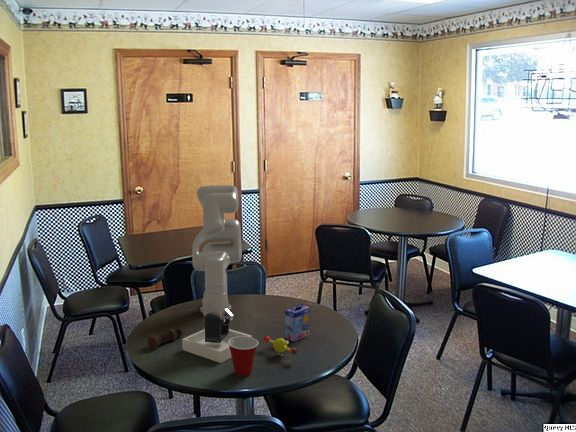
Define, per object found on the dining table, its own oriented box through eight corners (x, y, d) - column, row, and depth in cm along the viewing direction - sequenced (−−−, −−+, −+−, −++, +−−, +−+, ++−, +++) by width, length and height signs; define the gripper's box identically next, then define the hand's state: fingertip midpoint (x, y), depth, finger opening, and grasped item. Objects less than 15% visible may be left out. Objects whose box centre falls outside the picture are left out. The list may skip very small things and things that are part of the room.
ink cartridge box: (294, 342, 233) (294, 307, 230) (284, 338, 237) (283, 304, 234) (310, 335, 240) (310, 301, 237) (300, 331, 244) (300, 298, 241)
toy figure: (302, 360, 216) (302, 343, 215) (291, 365, 213) (290, 347, 211) (271, 346, 230) (270, 329, 228) (260, 350, 226) (259, 333, 225)
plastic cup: (259, 379, 202) (259, 346, 200) (228, 380, 202) (227, 348, 199) (258, 365, 213) (258, 334, 211) (228, 366, 212) (227, 335, 210)
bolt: (181, 341, 240) (153, 352, 228) (174, 332, 242) (145, 343, 230) (186, 330, 238) (158, 342, 226) (178, 322, 240) (150, 333, 228)
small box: (220, 344, 221) (219, 317, 219) (204, 342, 223) (203, 316, 221) (229, 333, 231) (228, 308, 229) (214, 332, 233) (213, 307, 231)
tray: (182, 350, 227) (182, 339, 226) (214, 335, 241) (214, 324, 240) (220, 363, 215) (220, 351, 214) (252, 346, 229) (251, 335, 228)
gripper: (192, 286, 225) (194, 329, 229) (225, 295, 215) (227, 339, 219) (205, 282, 231) (207, 323, 235) (239, 289, 221) (240, 333, 225)
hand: (217, 331), depth 227 cm, fingers closed on small box, 8 cm apart
